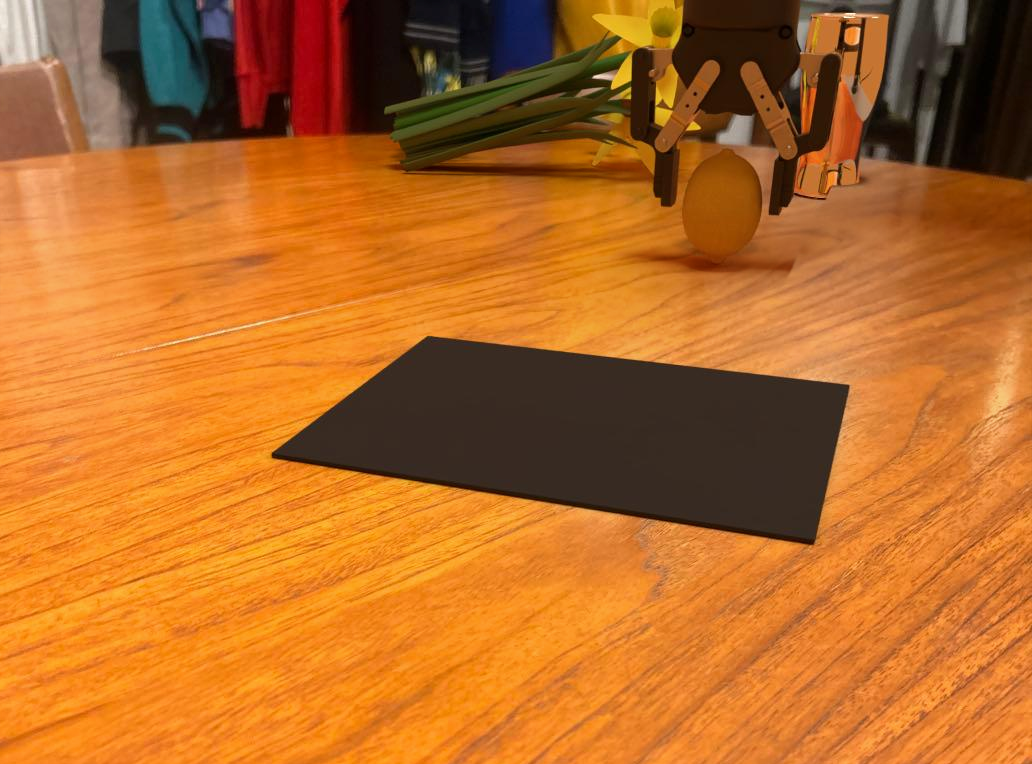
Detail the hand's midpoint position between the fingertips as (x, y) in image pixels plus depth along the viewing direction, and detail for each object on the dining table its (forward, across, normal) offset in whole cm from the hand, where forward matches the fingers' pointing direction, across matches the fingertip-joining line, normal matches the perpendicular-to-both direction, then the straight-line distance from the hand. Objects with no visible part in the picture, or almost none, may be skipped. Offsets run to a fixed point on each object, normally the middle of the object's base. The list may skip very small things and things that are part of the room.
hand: (721, 208), depth 78 cm
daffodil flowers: (+4, -23, +30) cm, 38 cm away
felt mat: (+4, -1, -32) cm, 32 cm away
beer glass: (+4, +5, +29) cm, 30 cm away
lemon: (+4, 0, 0) cm, 4 cm away
